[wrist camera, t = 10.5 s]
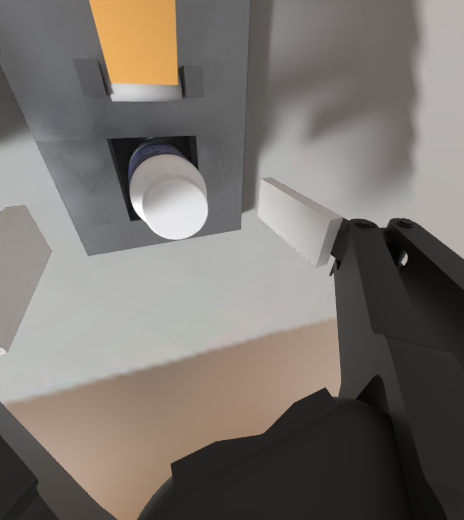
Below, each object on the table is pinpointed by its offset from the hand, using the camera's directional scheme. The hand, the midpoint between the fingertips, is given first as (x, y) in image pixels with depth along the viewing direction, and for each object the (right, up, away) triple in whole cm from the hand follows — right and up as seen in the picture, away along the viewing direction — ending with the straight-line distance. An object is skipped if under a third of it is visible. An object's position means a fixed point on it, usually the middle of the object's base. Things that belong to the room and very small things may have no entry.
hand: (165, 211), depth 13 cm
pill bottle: (-3, +6, +8) cm, 10 cm away
